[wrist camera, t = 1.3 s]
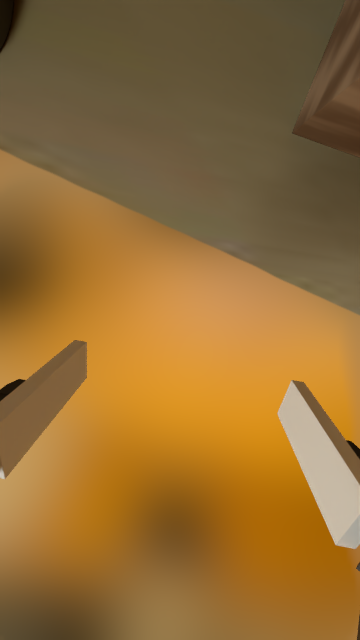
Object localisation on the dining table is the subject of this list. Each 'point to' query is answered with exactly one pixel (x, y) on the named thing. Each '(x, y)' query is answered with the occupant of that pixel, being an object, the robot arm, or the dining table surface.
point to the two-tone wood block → (336, 88)
